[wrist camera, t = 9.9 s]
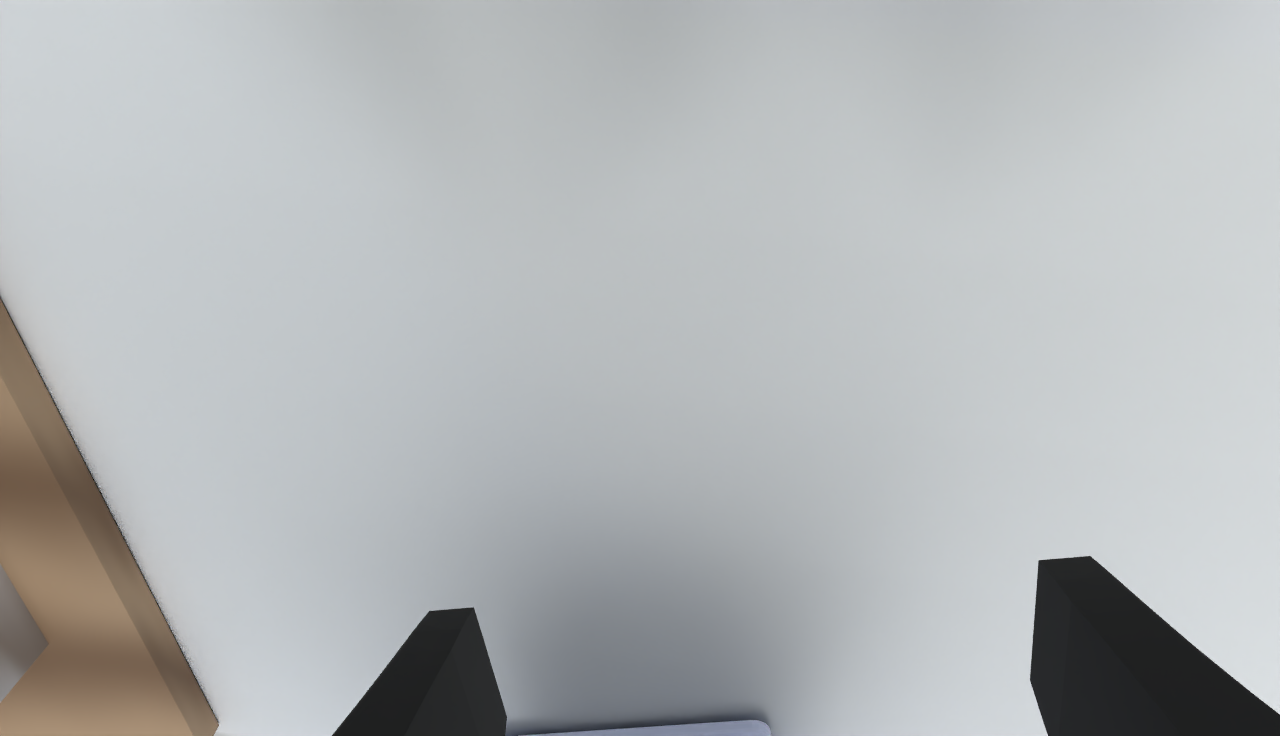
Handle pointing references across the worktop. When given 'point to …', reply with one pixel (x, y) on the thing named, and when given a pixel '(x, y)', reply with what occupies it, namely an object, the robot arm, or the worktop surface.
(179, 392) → the worktop surface
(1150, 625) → the robot arm
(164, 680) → the hinge board
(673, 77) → the worktop surface
